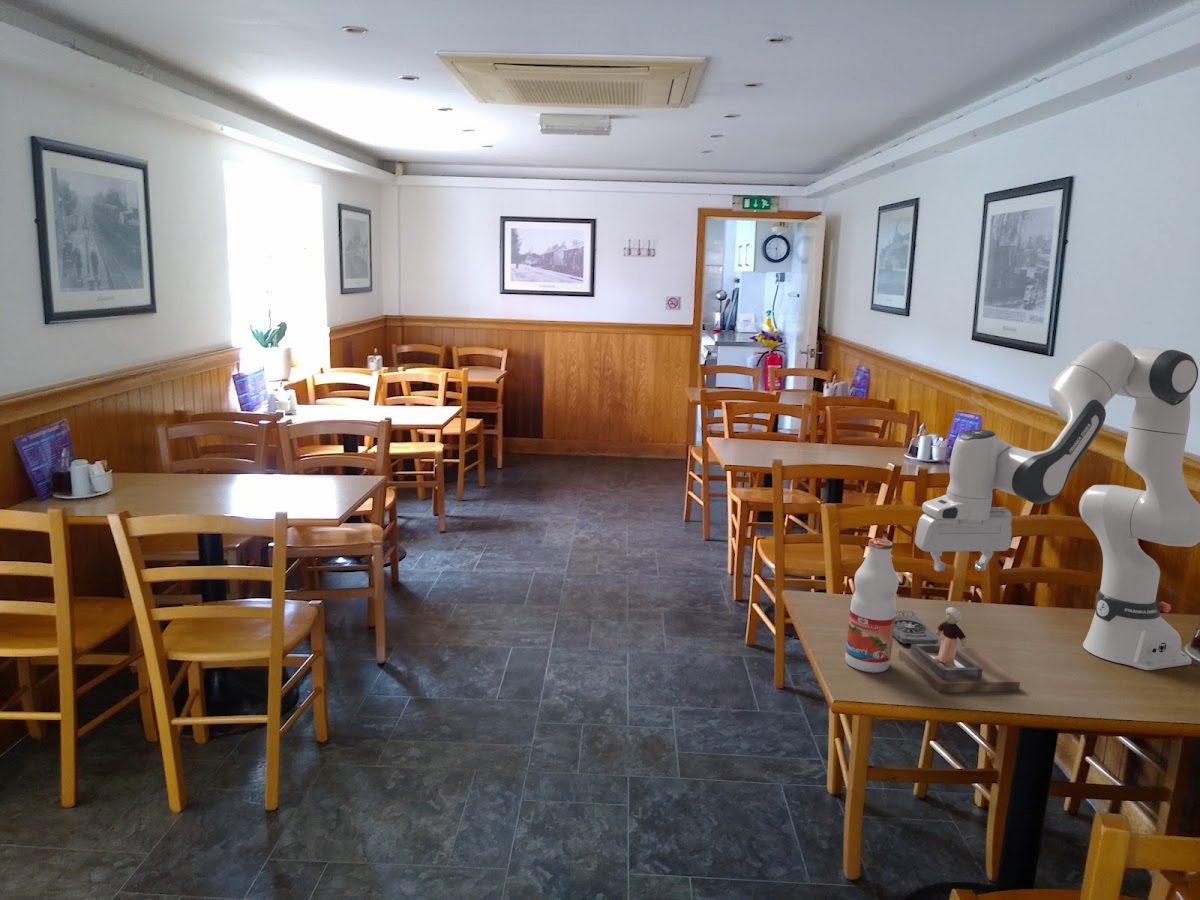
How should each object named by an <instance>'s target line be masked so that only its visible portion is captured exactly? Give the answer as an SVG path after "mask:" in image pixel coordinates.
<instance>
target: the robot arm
mask: <svg viewBox="0 0 1200 900" xmlns="http://www.w3.org/2000/svg"><path fill="white" fill-rule="evenodd" d="M1198 379H1199V368H1198V365H1197V363H1196V361H1195V359H1194V358H1193V356H1192V355H1190V354H1188V353H1186V352H1183V351H1180V350H1177V349H1165V348H1164V349H1163V348H1159V347H1149V346H1140V347H1137V346H1136V347H1128V346H1126V345H1124V344H1123V343H1122V342H1119V341H1118V340H1117V341H1116V340H1111V339H1105V340H1104V339H1103V340H1100V341H1098V342H1095V343H1094V344H1092V345H1091V346H1089V347H1088V348H1087V349H1085V350H1084V351H1083V352H1082V353H1079V354H1078V356H1076V357H1075V358H1074V359H1073V360H1071V361H1070V363H1068V364H1067V365H1066V366H1065V367H1064V368H1063V369H1062V370H1061V372H1060V373H1058V375H1057V376H1056V377H1055V378H1054V380H1053V381H1052V383H1051V384H1050V386H1049V388H1048V398H1049V402H1050V406H1051V407H1052V408H1053V410H1054V411H1055V412H1056V414H1057V415H1058V416H1059V417H1060V418H1061V419H1062V420H1064V421H1065V422H1066V425H1065V426H1064V427H1063V429H1062V431H1061V432H1060V433H1059V434H1058V435H1057V437H1056V438H1055V440H1054V442H1053V443H1052V444H1051V446H1050V447H1049V448H1048V449H1045V450H1041V451H1032V450H1028V449H1024V448H1021V447H1018V446H1014V445H1012V444H1010V443H1008V442H1006V441H1004V440H1002V439H1001V438H1000V437H998V436H997V433H996V432H995V431H992V430H989V429H983V428H982V429H981V428H980V429H976V428H974V429H968V430H964V431H961V432H960V433H959V434H958V435H957V437H956V439H955V441H954V443H953V447H952V449H951V450H952V451H951V455H950V461H949V469H948V470H949V482H948V486H947V488H946V494H944V495H941V496H939V497H935V498H932V499H930V500H926V501H924V502H923V503H922V504H921V510H922V511H923V512H924V513H923V514H922V515H921V516H920V517H919V519H918V522H917V525H916V531H915V537H914V543H915V545H916V547H917V548H918V549H920V550H921V551H923V552H926V553H927V552H928V553H929V552H930V555H931V557H932V559H933V561H934V564H933V569H934V571H936V572H945V569H946V563H944V562H943V561H941V557H942V556H943V552H944V553H945V552H981V553H982V555H981V556H980V557H979V560H975V562H974V564H975V565H974V569H975V570H977V571H978V572H980V571H983V572H985V571H986V570H987V564H988V563H989V562H990V560H991V559H992V557H993V556H994V552H1005V551H1008V550H1009V549H1010V548H1011V546H1012V521H1013V514H1012V512H1011V510H1010V509H1008V508H1007V507H1005V506H1000V507H997V506H996V507H995V506H992V504H993V503H992V502H993V490H994V489H996V490H999V491H1001V492H1004V493H1007V494H1010V495H1014V496H1017V497H1019V498H1021V499H1023V500H1026V501H1027V502H1030V503H1032V504H1034V505H1035V504H1036V505H1042V504H1043V505H1044V504H1046V503H1049V502H1051V501H1052V500H1054V499H1055V498H1057V497H1058V496H1059V495H1060V494H1061V493H1062V492H1063V490H1064V488H1065V486H1066V484H1067V483H1068V481H1069V480H1068V479H1069V477H1070V475H1071V473H1072V472H1073V470H1074V468H1076V466H1077V464H1078V463H1079V462H1080V460H1081V458H1082V457H1083V456H1084V454H1085V453H1086V451H1087V450H1088V448H1089V447H1090V446H1091V444H1092V443H1093V441H1094V440H1095V439H1096V437H1097V436H1098V434H1099V432H1100V431H1101V430H1102V427H1103V425H1104V424H1105V421H1106V420H1105V419H1106V417H1107V413H1106V409H1105V407H1106V405H1108V403H1109V402H1110V401H1111V400H1112V399H1113V398H1114V396H1115V395H1118V396H1122V397H1127V398H1133V399H1134V400H1135V405H1134V408H1133V412H1132V415H1131V418H1130V424H1129V427H1128V434H1127V439H1126V444H1125V449H1124V453H1123V458H1124V462H1125V464H1126V465H1127V466H1128V468H1129V469H1130V470H1132V471H1133V472H1135V473H1136V474H1138V475H1139V476H1141V478H1142V479H1143V481H1144V483H1145V486H1146V489H1145V490H1142V489H1137V488H1132V487H1128V486H1127V487H1126V486H1122V485H1117V484H1094V485H1091V487H1088V488H1087V489H1086V490H1085V491H1084V492H1083V494H1082V495H1081V497H1080V500H1079V504H1078V505H1079V506H1078V509H1079V511H1078V512H1079V515H1080V517H1081V519H1082V520H1083V522H1084V523H1085V524H1086V525H1087V526H1088V527H1089V528H1090V530H1091V531H1092V532H1093V533H1094V535H1095V537H1096V538H1097V540H1098V543H1099V546H1100V548H1101V552H1102V573H1101V582H1100V588H1099V589H1098V590H1097V593H1096V599H1095V612H1094V614H1093V615H1094V616H1093V617H1092V621H1091V624H1090V628H1089V630H1088V632H1087V634H1086V637H1085V640H1084V641H1083V643H1082V647H1083V649H1085V650H1086V651H1087V652H1088V653H1091V654H1092V655H1094V656H1096V657H1098V658H1101V659H1103V660H1107V661H1110V662H1114V663H1118V664H1123V665H1127V666H1131V667H1134V668H1137V669H1140V670H1145V671H1153V670H1159V669H1165V668H1172V667H1173V668H1174V667H1181V666H1188V665H1191V664H1192V658H1191V657H1190V656H1189V655H1188V654H1187V653H1185V652H1184V651H1182V639H1181V635H1180V634H1179V632H1178V631H1177V630H1176V629H1175V628H1173V626H1171V625H1170V624H1169V623H1168V622H1167V621H1166V620H1165V619H1164V618H1163V617H1162V616H1161V614H1160V611H1162V612H1164V613H1169V612H1170V611H1171V609H1172V605H1171V604H1170V603H1167V602H1165V601H1158V599H1157V593H1158V588H1159V583H1160V578H1161V570H1160V567H1159V565H1158V563H1157V562H1156V560H1154V559H1153V558H1152V557H1150V556H1149V555H1148V554H1147V553H1146V552H1144V550H1143V549H1142V548H1141V546H1140V545H1139V541H1138V539H1140V540H1142V541H1146V542H1151V543H1155V544H1160V545H1163V546H1169V547H1170V546H1171V547H1184V548H1185V547H1187V548H1191V547H1193V546H1196V545H1197V544H1199V543H1200V502H1198V501H1197V500H1196V498H1194V497H1193V494H1192V493H1191V492H1190V490H1189V488H1188V486H1187V483H1186V481H1185V477H1184V472H1183V471H1184V469H1183V464H1184V455H1185V449H1186V442H1187V439H1188V432H1189V428H1190V419H1191V418H1190V417H1191V416H1190V415H1191V395H1190V393H1192V391H1193V390H1194V388H1195V387H1196V384H1197V381H1198Z"/></svg>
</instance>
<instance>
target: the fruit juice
mask: <svg viewBox="0 0 1200 900" xmlns="http://www.w3.org/2000/svg"><path fill="white" fill-rule="evenodd" d="M867 545H868V549H869V550H868V553H866V556H865V559H864V561H863V562H862V564H861V565H860V566H859V568H858V569H857V570H856V571H855V574H854V581H853V582H854V589H855V591H854V593H853V595H852V597H851V601H850V608H849V619H848V626H847V634H846V635H847V636H846V644H845V653H844V658H845V662H846V664H847V665H849V666H850V667H852V668H853V669H855V670H857V671H861V672H865V673H875V674H876V673H883V672H885V671H887V670H888V669H889V668H890V667H889V666H890V664H891V656H892V655H891V654H892V649H893V647H892V646H893V639H894V635H893V632H894V624H895V616H896V615H897V614H896V613H897V612H896V611H897V601H896V598H895V597H896V594H897V591H898V589H899V576H898V575H897V573H896V570H895V569H894V565H893V561H892V555H891V552H892V550H893V545H894V544H893V542H892V541H891V540H889V539H884V538H880V537H879V538H878V537H877V538H876V537H875V538H873V537H872V538H870V539H869V540H868V544H867Z"/></svg>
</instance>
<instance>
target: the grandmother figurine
mask: <svg viewBox="0 0 1200 900" xmlns="http://www.w3.org/2000/svg"><path fill="white" fill-rule="evenodd" d="M945 614H946V615H945V621H943V622H941V624H940V623H939V625H938V626H937V629H936V631H935V634H934V635H935V636H938V637H939V636H940V635H941V639H940V640H941V641H940V644H941V646H940V650H939V656H937V657H935V658H934V660H935V661H937V662H943V665H944V666H946V667H953V666H955V663H954V659H955V655H956V648H958V645H957V643H958V639H959V640H960V644H961V647H962V648H966V646H967V642H966V641H967V639H966V638H967V637H966V634H965V633H964V632H963V630H962V629H961V628H960V627H959V626H958V624H957V623H958V622H960V621H961V620H963V616H962V614H961V612H960V611H959V609H957V607H952V606H951V607H948V608H946V609H945Z"/></svg>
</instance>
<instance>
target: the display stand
mask: <svg viewBox="0 0 1200 900" xmlns="http://www.w3.org/2000/svg"><path fill="white" fill-rule="evenodd" d="M940 646H941V643H938V644H912V643H910V648H900V649H898V657H899V658H900V660H901V662H903V661H904V662H905V663H906V664H907V665H906V664H905V663H904V662H903V663H904V664H905V665H906V666H907V667H908V668H910V669H911V670H912V671H913V670H914V671H915V672H914V671H913V672H914V673H915V674H916V675H918V676H919V677H920V676H921V677H922V678H923V681H925V682H926V683H927V684H928V685H929V684H930V685H931V686H930V685H929V686H930V687H932V689H934V690H935V691H936V692H937V691H938V692H937V693H939V694H944V693H945V694H946V693H950V694H952V693H976V692H977V693H979V692H980V693H981V692H986V693H987V692H1017V691H1018V692H1019V691H1020V686H1021V681H1020V680H1019V679H1017V678H1016V677H1014V676H1013V675H1011V674H1010V673H1009V672H1008V671H1006V670H1005V669H1003V668H1002V667H1001V666H999V665H998V664H996V663H995V662H993V660H991V659H989V658H988V657H987V656H985V655H984V654H983V653H982V652H979V650H977V649H976V648H974V647H956V655H955V659H954V663H955V666H953V667H946V666H944V665H943V662H937V661H935V660H934V658H935V657H937V656H939V650H940ZM899 658H898V659H899ZM921 677H920V678H921ZM922 678H921V679H922Z"/></svg>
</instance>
